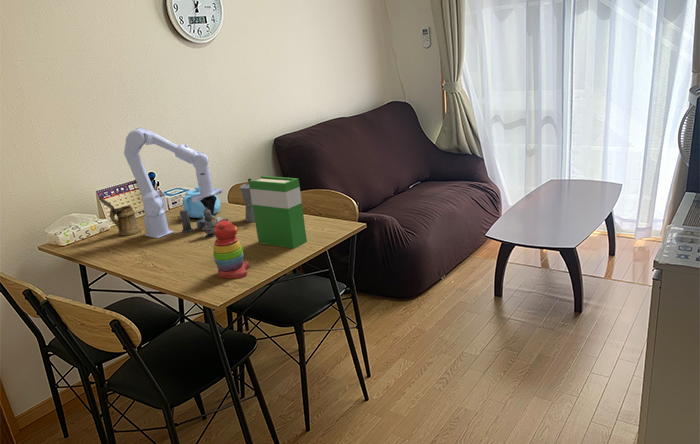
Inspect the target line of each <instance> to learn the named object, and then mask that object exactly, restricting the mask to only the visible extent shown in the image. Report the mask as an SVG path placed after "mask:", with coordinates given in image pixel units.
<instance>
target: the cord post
mask: <svg viewBox="0 0 700 444" xmlns="http://www.w3.org/2000/svg"><path fill="white" fill-rule="evenodd" d="M179 214H180V215H179V216H180V220H181V224H182V230H181V232H182V233H183V234H187V233H188V234H189V233H191V232H193V231H194V228H193V227H192V226H191V221H190V217H189V215H188V210H184V209H181V210H179Z"/></svg>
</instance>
